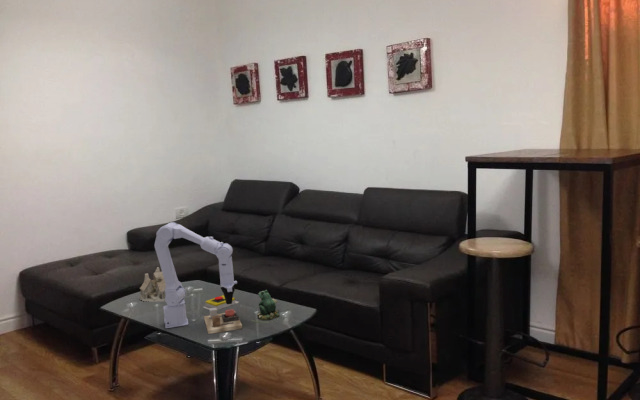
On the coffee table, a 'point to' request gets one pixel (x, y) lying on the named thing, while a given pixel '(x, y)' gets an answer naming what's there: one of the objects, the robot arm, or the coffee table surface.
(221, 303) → the emergency button
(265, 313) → the frog figurine
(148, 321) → the coffee table surface
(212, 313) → the grey slider
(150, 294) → the ceramic cottage
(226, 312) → the red push button
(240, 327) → the control panel
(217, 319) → the walnut slider
